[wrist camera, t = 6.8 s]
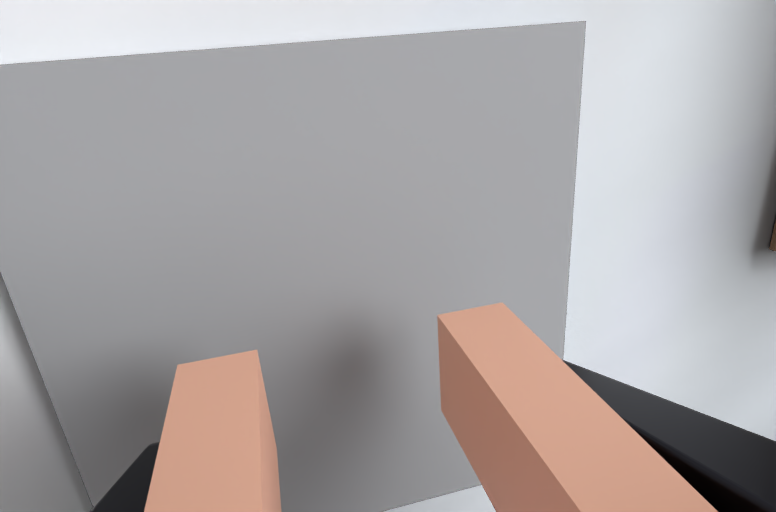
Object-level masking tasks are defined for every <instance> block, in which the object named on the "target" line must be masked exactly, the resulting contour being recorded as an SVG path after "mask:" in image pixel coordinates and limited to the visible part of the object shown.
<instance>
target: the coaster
mask: <svg viewBox="0 0 776 512" xmlns="http://www.w3.org/2000/svg"><path fill="white" fill-rule="evenodd" d="M585 29H586V21H579V22H566V23H552V24H539V25H525V26H512V27H499V28H485V29H472V30H459V31H445V32H432V33H418V34H405V35H392V36H378V37H365V38H352V39H338V40H325V41H311V42H298V43H285V44H271V45H258V46H244V47H231V48H218V49H204V50H191V51H178V52H164V53H151V54H137V55H124V56H111V57H97V58H84V59H71V60H57V61H44V62H30V63H17V64H4V65H0V272H1V275H2V278H3V280H4V283H5V285H6V288H7V290H8V293H9V295H10V298H11V300H12V303H13V305H14V308H15V311H16V313H17V316H18V318H19V321H20V323H21V326H22V328H23V331H24V333H25V336H26V338H27V341H28V344H29V346H30V349H31V351H32V354H33V356H34V359H35V361H36V364H37V366H38V369H39V371H40V374H41V377H42V379H43V382H44V384H45V387H46V389H47V392H48V394H49V397H50V399H51V402H52V404H53V407H54V410H55V412H56V415H57V417H58V420H59V422H60V425H61V427H62V430H63V432H64V435H65V437H66V440H67V443H68V445H69V448H70V450H71V453H72V455H73V458H74V460H75V463H76V465H77V468H78V470H79V473H80V476H81V478H82V481H83V483H84V486H85V488H86V491H87V493H88V496H89V498H90V501H91V503H92V506H93V507H94V506H95V505H96V504H97V503H98V501H99V500H100V499H101V498H102V497H103V496H104V495H105V494H106V492H107V491H108V490H109V489H110V488H111V487H112V486H113V484H114V483H115V482H116V481H117V480H118V479H119V478H120V476H121V475H122V474H123V473H124V472H125V471H126V470H127V468H128V467H129V466H130V465H131V464H132V463H133V462H134V461H135V459H136V458H137V457H138V456H139V455H140V454H141V453H142V451H143V450H144V449H145V448H146V447H147V446H148V445H150V444H152V443H156V442H160V439H161V435H162V431H163V426H164V422H165V417H166V413H167V409H168V404H169V400H170V395H171V391H172V387H173V382H174V378H175V373H176V369H177V365H179V364H184V363H189V362H195V361H200V360H205V359H210V358H215V357H221V356H226V355H231V354H236V353H242V352H247V351H252V350H257V351H258V356H259V361H260V366H261V371H262V376H263V381H264V386H265V391H266V396H267V402H268V407H269V412H270V417H271V422H272V427H273V432H274V437H275V442H276V447H277V458H278V472H279V485H280V499H281V512H383V511H386V510H390V509H394V508H397V507H401V506H405V505H409V504H412V503H416V502H420V501H423V500H427V499H431V498H434V497H438V496H442V495H446V494H449V493H453V492H457V491H460V490H464V489H468V488H472V487H475V486H479V485H482V484H481V482H480V481H479V479H478V477H477V475H476V473H475V471H474V470H473V468H472V466H471V464H470V462H469V460H468V459H467V457H466V455H465V453H464V451H463V449H462V448H461V446H460V444H459V442H458V440H457V438H456V437H455V435H454V433H453V431H452V429H451V427H450V426H449V424H448V422H447V420H446V418H445V416H444V415H443V413H442V411H441V395H440V371H439V346H438V322H437V315H439V314H444V313H450V312H455V311H460V310H465V309H470V308H476V307H481V306H486V305H491V304H496V303H502V302H503V303H504V304H505V305H506V306H507V307H508V308H509V309H510V310H511V311H512V312H513V313H514V314H515V315H516V316H517V317H518V318H519V319H520V320H521V321H522V322H523V323H524V324H525V325H526V326H527V327H528V328H529V329H530V330H531V331H532V332H533V333H535V334H536V335H537V336H538V337H539V338H540V339H541V340H542V341H543V342H544V343H545V344H546V345H547V346H548V347H549V348H550V349H551V350H552V351H553V352H554V353H555V354H556V355H557V356H558V357H559V358H560V359H562V360H563V355H564V340H565V325H566V311H567V296H568V281H569V266H570V251H571V237H572V222H573V207H574V192H575V177H576V163H577V148H578V133H579V118H580V103H581V89H582V74H583V59H584V44H585Z"/></svg>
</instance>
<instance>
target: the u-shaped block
mask: <svg viewBox="0 0 776 512" xmlns="http://www.w3.org/2000/svg"><path fill="white" fill-rule="evenodd" d="M437 322H438V346H439V371H440V395H441V411H442V413H443V415H444V416H445V418H446V420H447V422H448V424H449V426H450V427H451V429H452V431H453V433H454V435H455V437H456V438H457V440H458V442H459V444H460V446H461V448H462V449H463V451H464V453H465V455H466V457H467V459H468V460H469V462H470V464H471V466H472V468H473V470H474V471H475V473H476V475H477V477H478V479H479V481H480V482H481V484H482V486H483V488H484V490H485V492H486V493H487V495H488V497H489V499H490V501H491V503H492V505H493V506H494V508H495V510H496V512H718V511H717V510H716V509H715V508H714V507H713V506H712V505H711V504H710V503H709V502H708V501H707V500H706V499H705V498H704V497H703V496H701V495H700V494H699V493H698V492H697V491H696V490H695V489H694V488H693V487H692V486H691V485H690V484H689V483H688V482H687V481H686V480H685V479H684V478H683V477H682V476H681V475H680V474H679V473H678V472H677V471H676V470H675V469H674V468H673V467H672V466H671V465H670V464H668V463H667V462H666V461H665V460H664V459H663V458H662V457H661V456H660V455H659V454H658V453H657V452H656V451H655V450H654V449H653V448H652V447H651V446H650V445H649V444H648V443H647V442H646V441H645V440H644V439H643V438H642V437H641V436H640V435H639V434H638V433H637V432H636V431H634V430H633V429H632V428H631V427H630V426H629V425H628V424H627V423H626V422H625V421H624V420H623V419H622V418H621V417H620V416H619V415H618V414H617V413H616V412H615V411H614V410H613V409H612V408H611V407H610V406H609V405H608V404H607V403H606V402H605V401H604V400H603V399H602V398H600V397H599V396H598V395H597V394H596V393H595V392H594V391H593V390H592V389H591V388H590V387H589V386H588V385H587V384H586V383H585V382H584V381H583V380H582V379H581V378H580V377H579V376H578V375H577V374H576V373H575V372H574V371H573V370H572V369H571V368H570V367H569V366H567V365H566V364H565V363H564V362H563V361H562V360H561V359H560V358H559V357H558V356H557V355H556V354H555V353H554V352H553V351H552V350H551V349H550V348H549V347H548V346H547V345H546V344H545V343H544V342H543V341H542V340H541V339H540V338H539V337H538V336H537V335H536V334H535V333H533V332H532V331H531V330H530V329H529V328H528V327H527V326H526V325H525V324H524V323H523V322H522V321H521V320H520V319H519V318H518V317H517V316H516V315H515V314H514V313H513V312H512V311H511V310H510V309H509V308H508V307H507V306H506V305H505V304H504V303H503V302H502V303H496V304H491V305H486V306H481V307H476V308H470V309H465V310H460V311H455V312H450V313H444V314H439V315H437ZM144 512H281V499H280V485H279V472H278V458H277V447H276V442H275V437H274V432H273V427H272V422H271V417H270V412H269V407H268V402H267V396H266V391H265V386H264V381H263V376H262V371H261V366H260V361H259V356H258V351H257V350H252V351H247V352H242V353H236V354H231V355H226V356H221V357H215V358H210V359H205V360H200V361H195V362H189V363H184V364H179V365H177V369H176V373H175V378H174V382H173V387H172V391H171V395H170V400H169V404H168V409H167V413H166V417H165V422H164V426H163V431H162V435H161V439H160V444H159V448H158V453H157V457H156V461H155V466H154V470H153V475H152V479H151V483H150V488H149V492H148V497H147V501H146V505H145V510H144Z"/></svg>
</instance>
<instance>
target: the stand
mask: <svg viewBox="0 0 776 512" xmlns="http://www.w3.org/2000/svg"><path fill="white" fill-rule="evenodd" d="M769 249H771V250H773V251H776V221H775V225H774V230H773V234H772V239H771V243H770V247H769Z"/></svg>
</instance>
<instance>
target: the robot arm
mask: <svg viewBox="0 0 776 512" xmlns="http://www.w3.org/2000/svg"><path fill="white" fill-rule="evenodd" d="M561 360H562V359H561ZM562 361H563V362H564V363H565V364H566V365H567V366H569V367H570V368H571V369H572V370H573V371H574V372H575V373H576V374H577V375H578V376H579V377H580V378H581V379H582V380H583V381H584V382H585V383H586V384H587V385H588V386H589V387H590V388H591V389H592V390H593V391H594V392H595V393H596V394H597V395H598V396H599V397H600V398H602V399H603V400H604V401H605V402H606V403H607V404H608V405H609V406H610V407H611V408H612V409H613V410H614V411H615V412H616V413H617V414H618V415H619V416H620V417H621V418H622V419H623V420H624V421H625V422H626V423H627V424H628V425H629V426H630V427H631V428H632V429H633V430H634V431H636V432H637V433H638V434H639V435H640V436H641V437H642V438H643V439H644V440H645V441H646V442H647V443H648V444H649V445H650V446H651V447H652V448H653V449H654V450H655V451H656V452H657V453H658V454H659V455H660V456H661V457H662V458H663V459H664V460H665V461H666V462H667V463H668V464H670V465H671V466H672V467H673V468H674V469H675V470H676V471H677V472H678V473H679V474H680V475H681V476H682V477H683V478H684V479H685V480H686V481H687V482H688V483H689V484H690V485H691V486H692V487H693V488H694V489H695V490H696V491H697V492H698V493H699V494H700V495H701V496H703V497H704V498H705V499H706V500H707V501H708V502H709V503H710V504H711V505H712V506H713V507H714V508H715V509H716V510H717V511H718V512H776V441H773V440H771V439H768V438H766V437H763V436H760V435H758V434H755V433H752V432H750V431H747V430H745V429H742V428H739V427H737V426H734V425H732V424H729V423H726V422H724V421H721V420H718V419H716V418H713V417H711V416H708V415H705V414H703V413H700V412H698V411H695V410H692V409H690V408H687V407H685V406H682V405H679V404H677V403H674V402H671V401H669V400H666V399H664V398H661V397H658V396H656V395H653V394H651V393H648V392H645V391H643V390H640V389H637V388H635V387H632V386H630V385H627V384H624V383H622V382H619V381H617V380H614V379H611V378H609V377H606V376H604V375H601V374H598V373H596V372H593V371H590V370H588V369H585V368H583V367H580V366H577V365H575V364H572V363H570V362H567V361H564V360H562ZM159 444H160V442H156V443H152V444H150V445H148V446H147V447H146V448H145V449H144V450H143V451H142V453H141V454H140V455H139V456H138V457H137V458H136V459H135V461H134V462H133V463H132V464H131V465H130V466H129V467H128V468H127V470H126V471H125V472H124V473H123V474H122V475H121V476H120V478H119V479H118V480H117V481H116V482H115V483H114V484H113V486H112V487H111V488H110V489H109V490H108V491H107V492H106V494H105V495H104V496H103V497H102V498H101V499H100V500H99V501H98V503H97V504H96V505H95V506H94V507H93V508H92V509H91V511H90V512H144V510H145V505H146V501H147V497H148V492H149V488H150V483H151V479H152V475H153V470H154V466H155V461H156V457H157V453H158V448H159Z"/></svg>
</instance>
